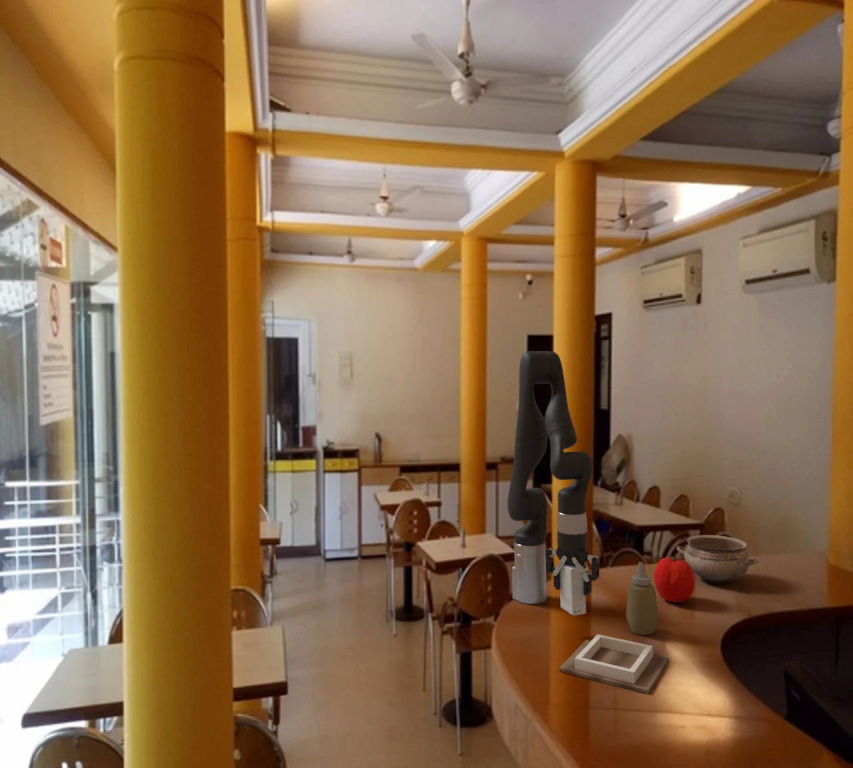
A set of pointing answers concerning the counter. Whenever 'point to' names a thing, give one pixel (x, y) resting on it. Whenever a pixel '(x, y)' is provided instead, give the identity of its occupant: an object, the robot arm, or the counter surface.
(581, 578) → the skincare box
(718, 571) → the cooking pot
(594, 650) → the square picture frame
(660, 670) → the board
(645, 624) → the squeeze bottle
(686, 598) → the tomato
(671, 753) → the counter surface
